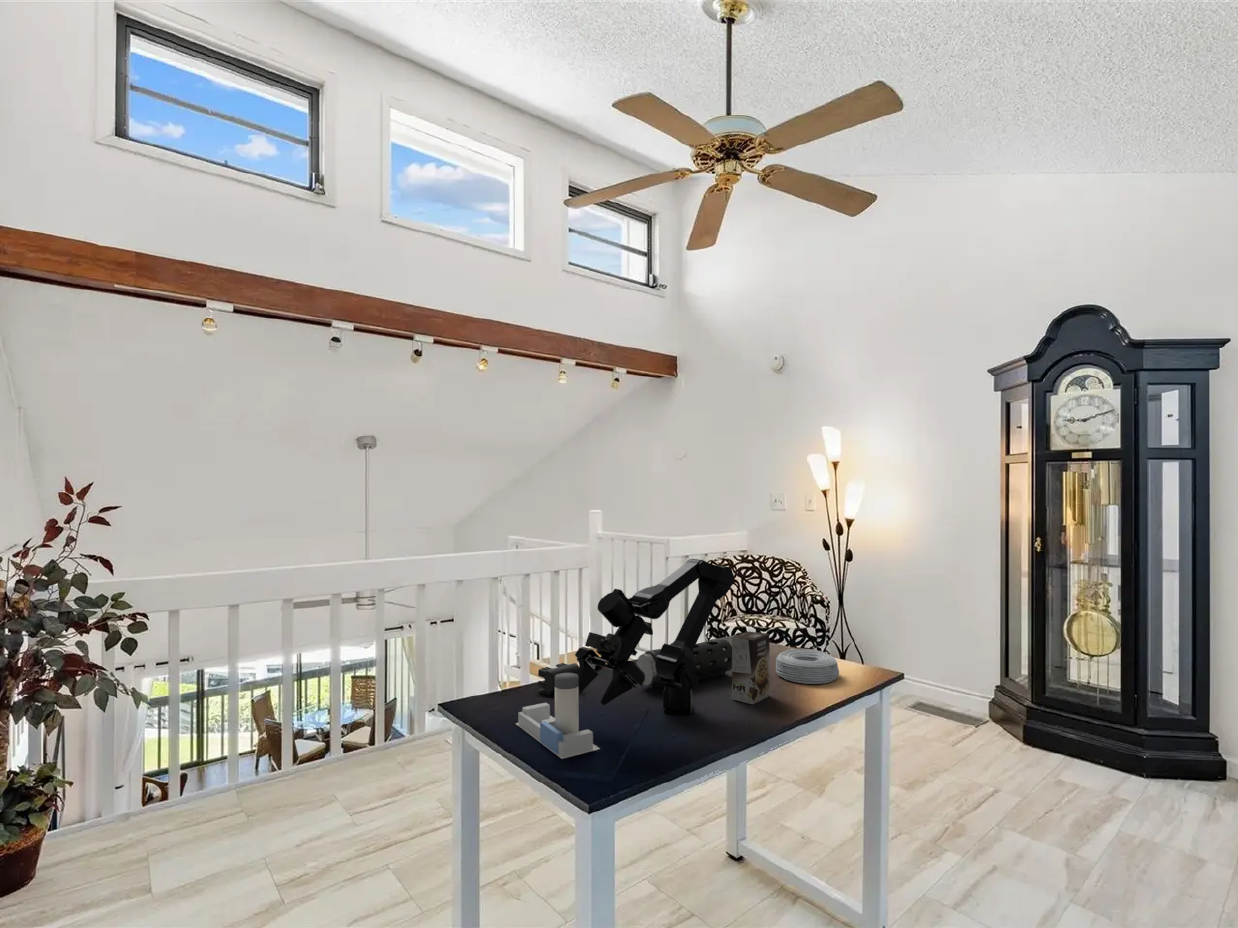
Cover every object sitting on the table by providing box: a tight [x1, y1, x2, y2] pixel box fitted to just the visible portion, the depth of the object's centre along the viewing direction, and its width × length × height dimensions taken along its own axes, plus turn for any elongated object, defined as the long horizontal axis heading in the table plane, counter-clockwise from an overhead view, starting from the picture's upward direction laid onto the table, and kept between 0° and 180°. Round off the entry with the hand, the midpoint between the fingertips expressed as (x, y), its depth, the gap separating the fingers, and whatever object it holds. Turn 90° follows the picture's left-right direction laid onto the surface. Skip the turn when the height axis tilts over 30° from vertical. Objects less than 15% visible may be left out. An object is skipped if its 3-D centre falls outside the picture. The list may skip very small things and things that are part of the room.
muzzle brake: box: [636, 639, 732, 688], centre depth 187 cm, size 10×28×10 cm, turn 121°
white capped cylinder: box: [554, 673, 580, 735], centre depth 142 cm, size 5×5×14 cm
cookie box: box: [731, 630, 771, 705], centre depth 173 cm, size 9×6×16 cm
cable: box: [775, 648, 840, 685], centre depth 192 cm, size 18×18×6 cm
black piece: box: [537, 662, 580, 697], centre depth 179 cm, size 10×7×7 cm
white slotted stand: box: [515, 702, 601, 760], centre depth 146 cm, size 9×23×5 cm, turn 32°
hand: (588, 698), depth 146 cm, fingers open, 9 cm apart
